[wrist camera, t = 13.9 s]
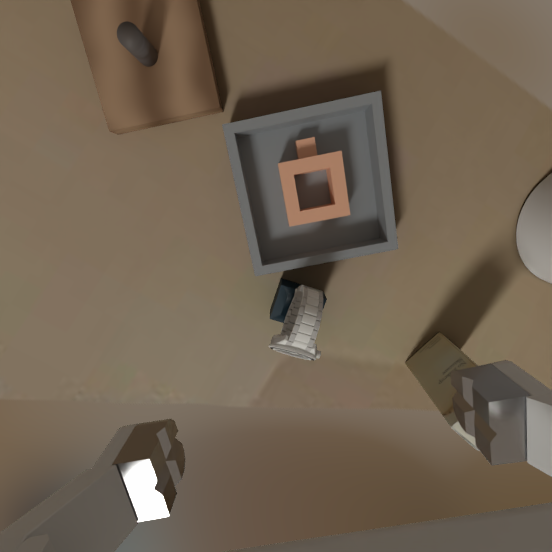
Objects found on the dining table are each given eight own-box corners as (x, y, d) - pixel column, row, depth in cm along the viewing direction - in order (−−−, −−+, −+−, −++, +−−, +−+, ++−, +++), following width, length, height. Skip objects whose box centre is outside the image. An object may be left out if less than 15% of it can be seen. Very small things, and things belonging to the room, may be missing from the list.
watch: (265, 323, 42) (261, 367, 32) (285, 264, 40) (288, 290, 30) (307, 336, 43) (316, 383, 32) (328, 278, 41) (346, 308, 30)
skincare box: (438, 330, 42) (500, 383, 31) (461, 351, 43) (531, 411, 31) (402, 363, 44) (449, 427, 32) (425, 383, 44) (479, 453, 32)
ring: (333, 134, 36) (338, 129, 33) (344, 213, 38) (350, 215, 35) (274, 147, 37) (274, 143, 34) (288, 224, 39) (289, 226, 36)
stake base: (195, -16, 33) (176, -65, 27) (223, 111, 36) (211, 94, 30) (82, 11, 34) (38, -30, 28) (118, 134, 37) (85, 122, 31)
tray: (371, 100, 36) (380, 90, 33) (387, 244, 40) (398, 248, 36) (227, 131, 37) (222, 124, 33) (257, 269, 41) (255, 276, 37)
